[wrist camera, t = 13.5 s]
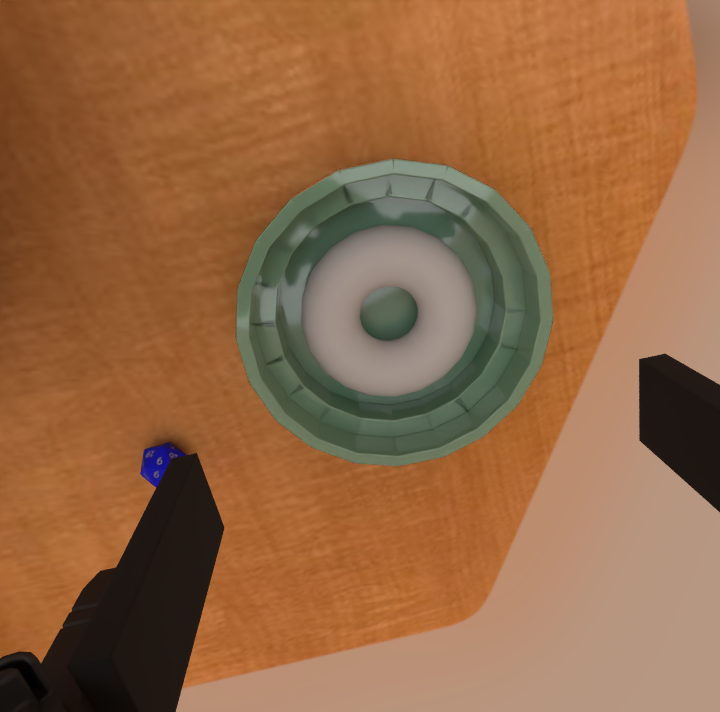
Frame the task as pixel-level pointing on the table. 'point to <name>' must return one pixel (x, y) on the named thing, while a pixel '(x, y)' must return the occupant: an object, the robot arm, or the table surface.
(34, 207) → the table surface
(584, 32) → the table surface
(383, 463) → the green ribbed bowl
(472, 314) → the donut
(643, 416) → the robot arm
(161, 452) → the die
